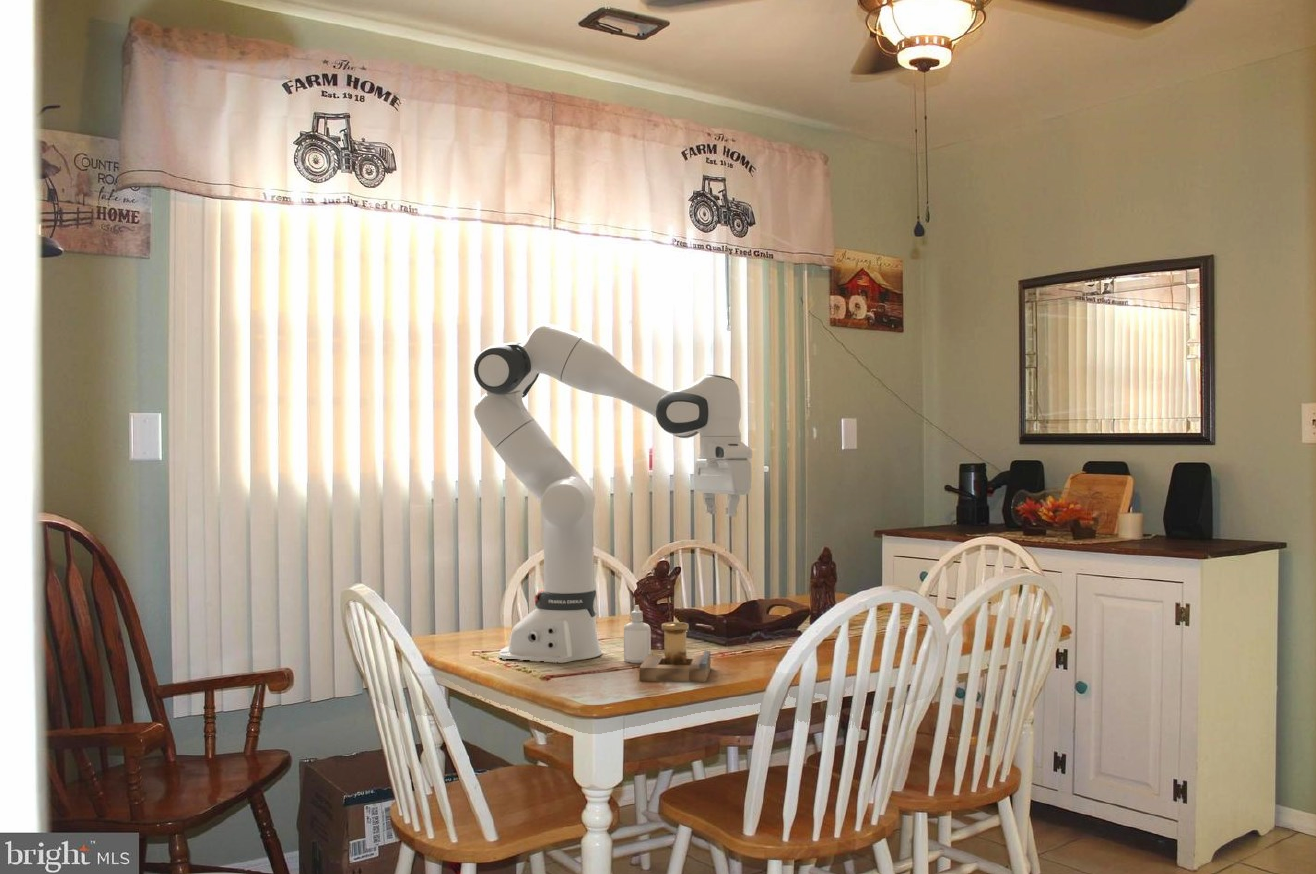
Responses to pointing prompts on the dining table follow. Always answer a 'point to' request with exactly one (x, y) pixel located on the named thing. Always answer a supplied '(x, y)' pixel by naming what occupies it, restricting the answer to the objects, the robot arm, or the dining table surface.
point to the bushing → (675, 642)
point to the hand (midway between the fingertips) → (720, 515)
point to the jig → (675, 669)
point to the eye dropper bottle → (637, 638)
